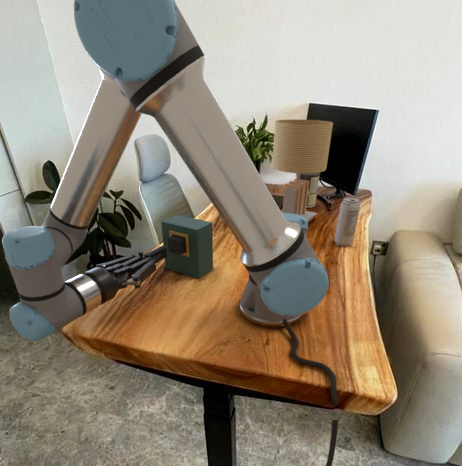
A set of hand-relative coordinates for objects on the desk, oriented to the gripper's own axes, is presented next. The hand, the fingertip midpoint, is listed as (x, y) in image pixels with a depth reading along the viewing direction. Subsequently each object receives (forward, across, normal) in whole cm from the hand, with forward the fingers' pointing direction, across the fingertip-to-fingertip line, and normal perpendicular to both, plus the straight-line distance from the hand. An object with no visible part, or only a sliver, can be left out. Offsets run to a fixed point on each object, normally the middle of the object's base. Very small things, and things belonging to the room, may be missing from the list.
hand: (164, 251), depth 90 cm
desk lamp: (+66, +10, -9) cm, 67 cm away
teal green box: (+10, 0, -9) cm, 13 cm away
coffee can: (+90, +5, -9) cm, 91 cm away
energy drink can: (+53, +33, -9) cm, 63 cm away
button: (+6, 0, -2) cm, 6 cm away
